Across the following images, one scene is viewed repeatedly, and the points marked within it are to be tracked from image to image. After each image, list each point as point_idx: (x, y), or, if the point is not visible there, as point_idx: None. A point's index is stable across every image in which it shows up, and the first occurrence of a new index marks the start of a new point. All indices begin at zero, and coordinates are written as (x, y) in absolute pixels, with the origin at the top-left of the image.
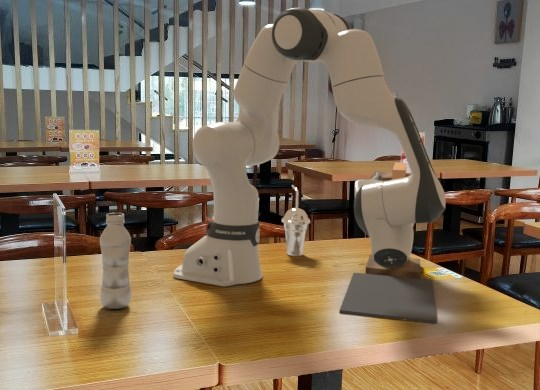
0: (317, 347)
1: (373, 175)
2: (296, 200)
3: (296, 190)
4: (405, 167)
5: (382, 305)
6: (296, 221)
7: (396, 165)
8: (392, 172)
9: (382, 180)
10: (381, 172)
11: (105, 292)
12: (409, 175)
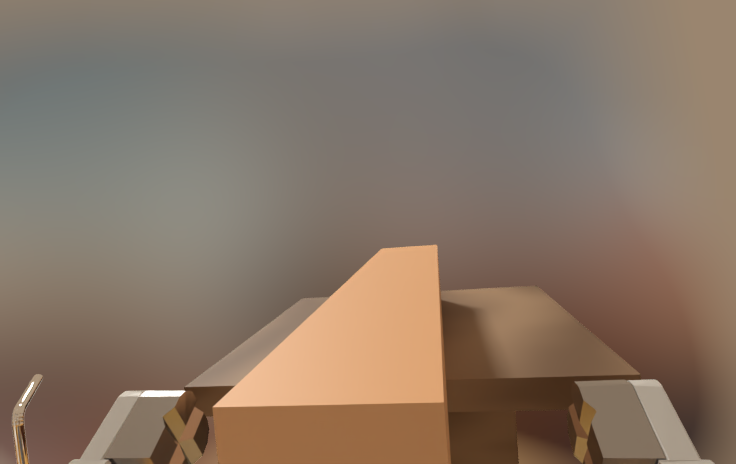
0: None
1: (235, 355)
2: (16, 451)
3: (14, 409)
4: (436, 291)
5: None
6: None
7: (370, 273)
8: (221, 457)
9: None
10: (173, 395)
11: None
12: (463, 313)
